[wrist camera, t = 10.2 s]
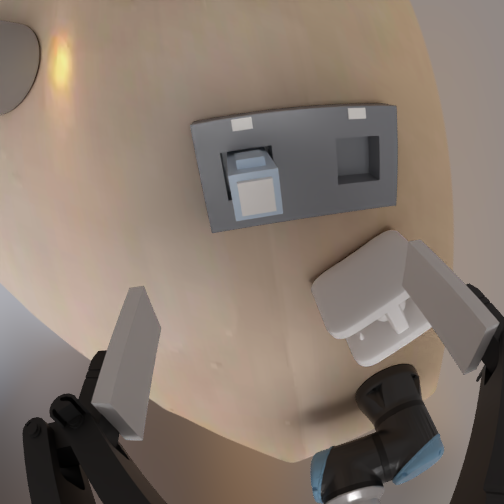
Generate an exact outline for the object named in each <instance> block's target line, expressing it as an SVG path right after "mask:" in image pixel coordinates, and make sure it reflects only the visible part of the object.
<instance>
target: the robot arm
mask: <svg viewBox="0 0 504 504" xmlns="http://www.w3.org/2000/svg"><path fill="white" fill-rule="evenodd" d="M402 286H403V288H404V289H405V290H406V292H407V293H408V294H409V296H410V297H411V298H412V300H413V301H414V303H415V304H416V305H417V307H418V308H419V309H420V311H421V312H422V314H423V315H424V316H425V318H426V319H427V321H428V322H429V323H430V325H431V326H432V328H433V329H434V331H435V332H436V333H437V335H438V336H439V338H440V339H441V341H442V342H443V344H444V345H445V347H446V348H447V349H448V351H449V353H450V354H451V356H452V357H453V359H454V361H455V362H456V363H457V365H458V367H459V368H460V370H461V371H462V373H463V375H465V374H467V373H469V372H471V371H473V370H475V369H477V366H478V365H479V363H480V361H481V360H482V361H483V363H484V364H485V365H484V367H483V369H482V370H481V372H480V374H479V376H478V377H477V380H476V381H477V382H478V381H479V379H480V378H481V384H480V391H479V398H478V403H477V409H476V414H475V419H474V424H473V428H472V433H471V438H470V441H469V445H468V449H467V453H466V456H465V460H464V463H463V467H462V470H461V473H460V477H459V479H458V482H457V485H456V488H455V491H454V493H453V496H452V499H451V502H450V504H504V317H503V316H502V315H501V313H500V312H499V311H498V310H497V309H496V308H495V307H494V305H493V304H492V303H490V301H489V300H488V299H487V298H486V297H485V296H484V295H483V293H482V292H481V291H480V290H479V289H478V288H476V287H474V286H473V285H471V284H467V285H466V284H465V283H464V282H463V281H462V280H461V279H460V278H459V277H458V276H457V275H456V274H455V273H454V272H453V271H452V270H451V269H450V268H449V267H448V266H447V265H446V264H445V263H444V262H443V261H442V260H441V259H440V258H439V257H438V256H437V255H436V254H435V253H434V252H433V251H432V250H431V249H430V248H429V247H428V246H427V245H426V244H425V243H423V242H422V241H421V240H415V241H409V242H408V248H407V256H406V263H405V270H404V276H403V282H402ZM160 332H161V326H160V324H159V322H158V319H157V317H156V315H155V312H154V310H153V307H152V305H151V303H150V300H149V298H148V295H147V293H146V290H145V288H144V286H140V287H133V288H129V291H128V294H127V296H126V299H125V301H124V304H123V307H122V309H121V312H120V315H119V318H118V320H117V323H116V326H115V329H114V332H113V334H112V337H111V340H110V343H109V346H108V349H107V350H106V351H98V352H97V354H96V355H95V356H94V357H93V359H92V360H91V363H90V366H89V369H88V370H89V371H88V372H87V375H86V379H85V381H84V384H83V387H82V390H81V393H80V396H79V399H77V398H76V397H75V396H74V395H72V394H63V395H61V396H58V397H57V398H56V399H55V400H54V401H53V403H52V404H51V407H50V417H51V418H52V419H53V420H54V421H55V422H53V423H49V424H47V423H46V422H45V421H44V420H43V419H42V418H39V417H36V418H32V419H31V420H29V421H28V422H27V423H26V424H25V426H24V428H23V447H24V456H25V465H26V473H27V480H28V486H29V492H30V498H31V503H32V504H96V502H95V499H94V496H93V493H92V490H91V487H90V484H89V481H90V483H91V484H92V486H93V488H94V489H95V491H96V492H97V494H98V496H99V498H100V499H101V501H102V502H103V504H167V503H166V502H165V501H164V500H163V498H162V497H161V496H160V495H159V494H158V493H157V491H156V490H155V489H154V488H153V486H152V485H151V484H150V483H149V481H148V480H147V479H146V478H145V476H144V475H143V474H142V473H141V471H140V470H139V469H138V467H137V466H136V465H135V463H134V462H133V461H132V459H131V458H130V456H129V455H128V454H127V452H126V451H125V449H124V448H123V446H122V445H121V444H120V443H119V442H118V437H119V434H120V435H122V437H124V439H125V440H143V435H144V428H145V421H146V413H147V407H148V400H149V394H150V387H151V381H152V375H153V369H154V364H155V358H156V353H157V347H158V342H159V337H160ZM356 401H357V404H358V407H359V408H360V410H361V411H362V412H363V413H364V414H365V415H366V416H367V417H368V419H369V420H370V421H371V422H372V423H373V425H374V427H375V430H376V432H375V433H372V434H370V435H367V436H364V437H361V438H358V439H356V440H353V441H350V442H347V443H344V444H341V445H337V446H332V447H330V448H329V449H326V450H323V451H320V452H318V453H316V454H315V455H314V456H313V458H312V461H311V485H312V487H313V488H312V489H313V496H314V499H315V501H316V502H317V503H324V504H380V501H379V499H380V497H381V496H382V494H383V492H384V487H383V483H385V482H388V481H390V480H392V481H393V483H394V484H395V485H399V484H401V483H404V482H407V481H409V480H411V479H413V478H414V477H416V476H418V475H419V474H421V473H422V472H424V471H425V470H427V469H428V468H430V467H431V466H432V465H433V464H435V463H436V462H437V461H438V460H439V459H440V458H441V456H442V455H443V452H444V447H443V444H442V442H441V439H440V434H438V431H437V429H436V427H435V425H434V423H433V421H432V419H431V417H430V415H429V413H428V411H427V409H426V407H425V405H424V403H423V400H422V396H421V387H420V380H419V375H418V373H417V371H416V370H415V368H414V367H413V366H411V365H407V364H403V365H397V366H393V367H390V368H387V369H385V370H383V371H381V372H379V373H377V374H375V375H374V376H372V377H371V378H370V379H368V380H367V381H366V382H365V383H364V384H363V385H362V386H361V387H360V388H359V389H358V391H357V393H356ZM88 479H89V480H88Z"/></svg>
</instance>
